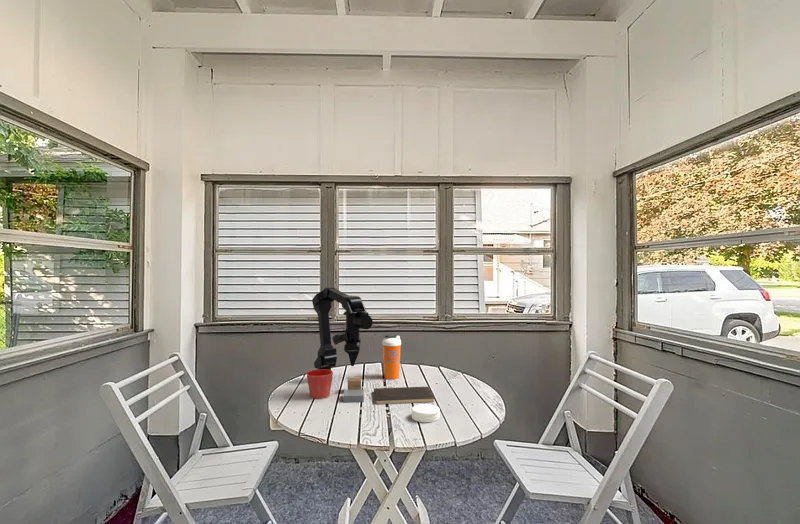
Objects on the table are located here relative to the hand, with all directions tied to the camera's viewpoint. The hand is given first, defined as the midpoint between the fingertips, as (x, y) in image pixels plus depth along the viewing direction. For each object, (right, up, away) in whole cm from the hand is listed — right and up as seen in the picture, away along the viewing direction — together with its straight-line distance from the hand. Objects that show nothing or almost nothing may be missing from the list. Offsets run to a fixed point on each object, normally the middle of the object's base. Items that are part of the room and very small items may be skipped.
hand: (352, 363), depth 189 cm
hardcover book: (+21, -13, -7) cm, 26 cm away
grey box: (+1, -12, -9) cm, 15 cm away
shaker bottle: (+16, -12, +23) cm, 30 cm away
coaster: (+29, -13, -30) cm, 44 cm away
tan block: (+1, -12, +1) cm, 12 cm away
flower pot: (-13, -12, -5) cm, 19 cm away
